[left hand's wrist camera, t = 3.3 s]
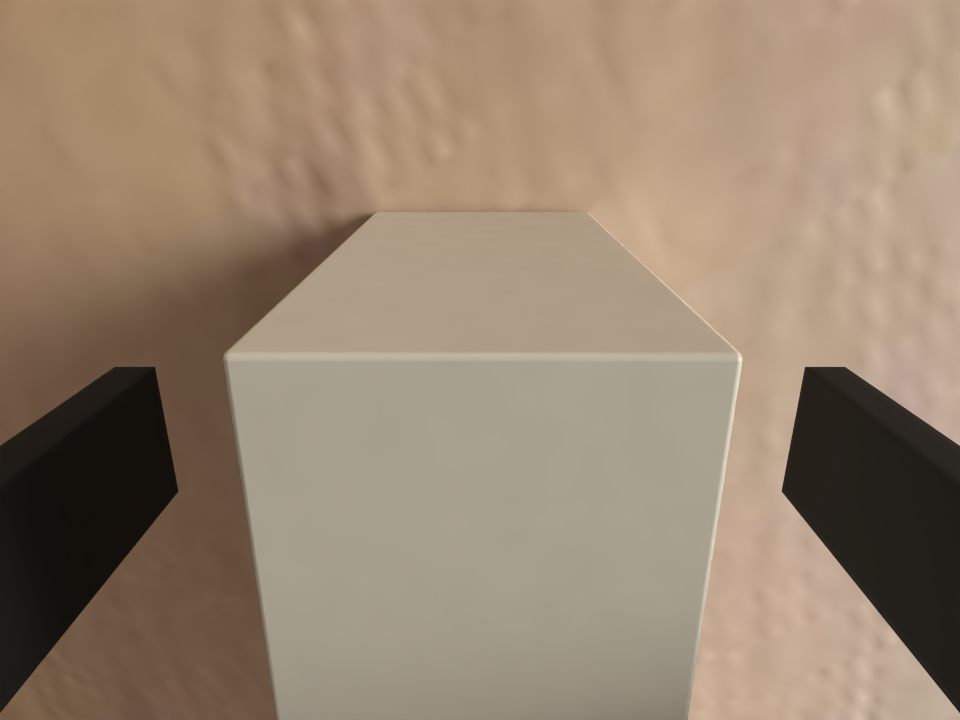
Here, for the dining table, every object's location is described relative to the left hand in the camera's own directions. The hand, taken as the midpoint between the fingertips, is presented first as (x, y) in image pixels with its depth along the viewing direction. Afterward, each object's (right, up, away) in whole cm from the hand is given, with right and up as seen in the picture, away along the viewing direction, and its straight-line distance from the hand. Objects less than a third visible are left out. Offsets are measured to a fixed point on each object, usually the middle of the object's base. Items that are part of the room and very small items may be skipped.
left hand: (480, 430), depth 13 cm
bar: (0, -8, +5) cm, 9 cm away
